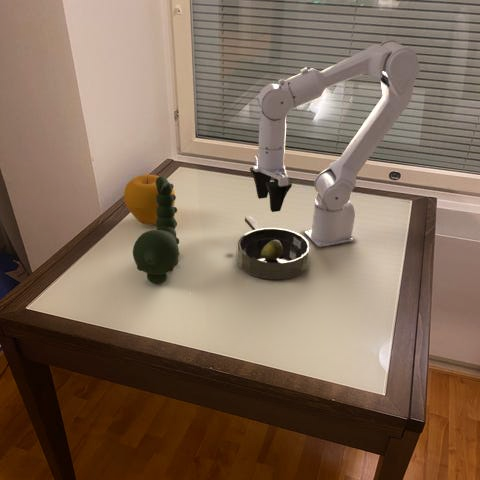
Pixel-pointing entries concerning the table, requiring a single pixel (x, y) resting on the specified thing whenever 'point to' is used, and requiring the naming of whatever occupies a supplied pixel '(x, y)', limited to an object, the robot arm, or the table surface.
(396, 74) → the robot arm
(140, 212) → the apple
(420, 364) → the table surface
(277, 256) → the lime
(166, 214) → the toy figurine
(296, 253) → the skillet
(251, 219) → the skillet handle
